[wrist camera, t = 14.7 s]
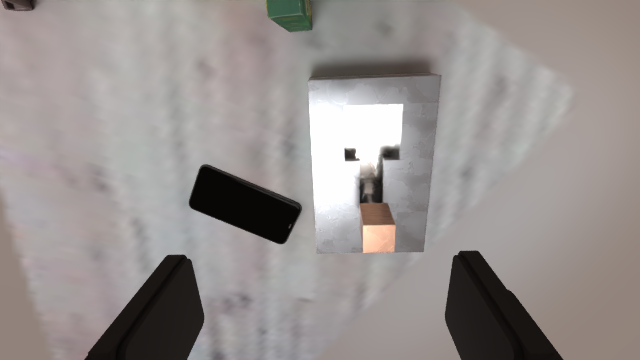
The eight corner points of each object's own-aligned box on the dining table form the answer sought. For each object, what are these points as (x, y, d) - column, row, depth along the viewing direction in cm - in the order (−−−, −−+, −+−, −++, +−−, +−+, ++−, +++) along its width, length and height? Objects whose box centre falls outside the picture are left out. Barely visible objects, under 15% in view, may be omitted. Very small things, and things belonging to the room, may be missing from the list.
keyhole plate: (310, 77, 37) (307, 80, 33) (429, 72, 37) (441, 75, 33) (318, 235, 46) (316, 253, 42) (415, 233, 45) (423, 251, 41)
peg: (351, 179, 41) (357, 220, 31) (384, 178, 41) (402, 219, 31) (351, 209, 43) (357, 257, 33) (383, 208, 43) (399, 256, 32)
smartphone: (188, 204, 45) (284, 244, 47) (186, 207, 44) (283, 247, 46) (203, 160, 42) (304, 204, 44) (200, 162, 42) (303, 206, 43)
